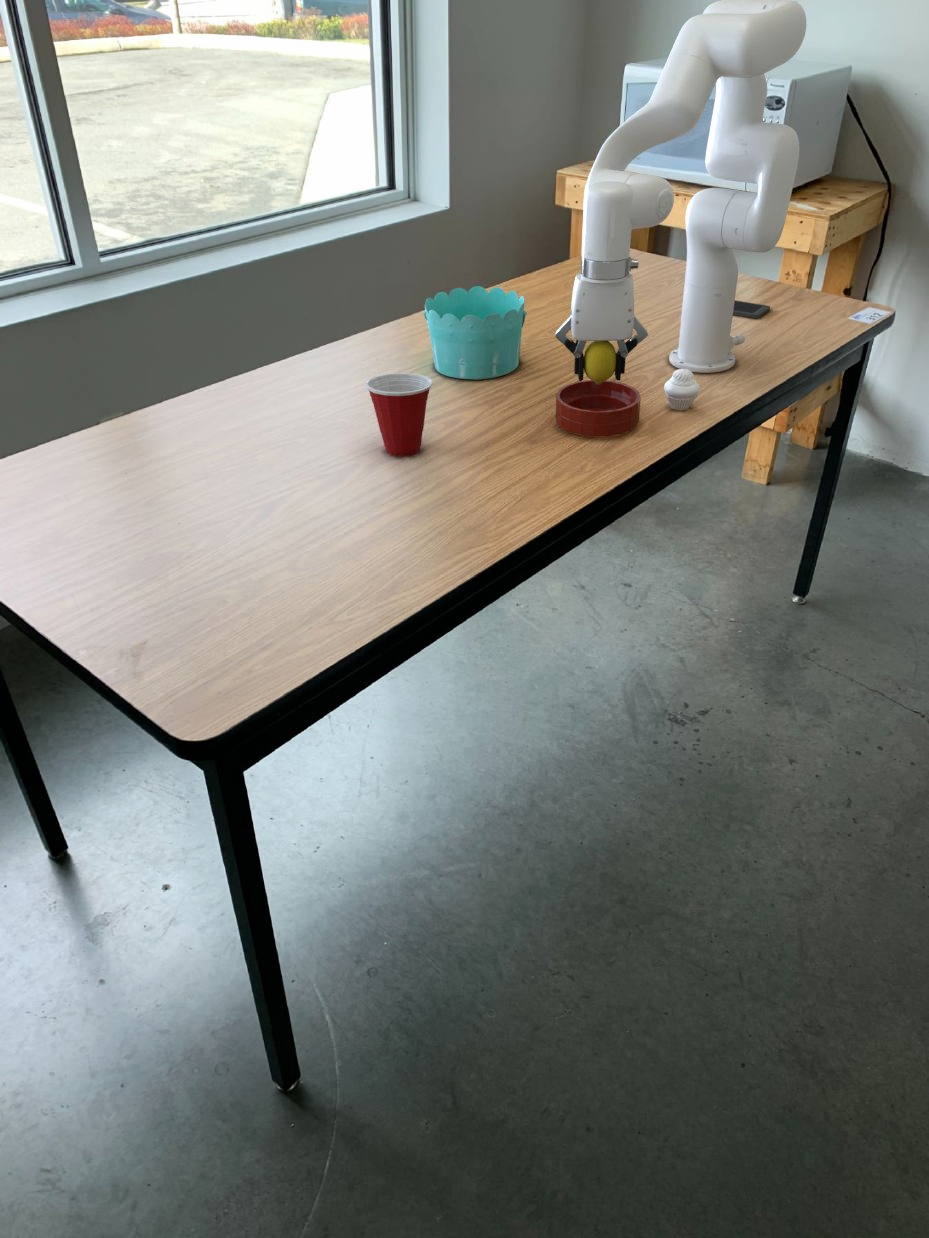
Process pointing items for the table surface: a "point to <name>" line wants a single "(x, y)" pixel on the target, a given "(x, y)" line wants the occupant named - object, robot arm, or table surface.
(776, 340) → the table surface
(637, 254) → the table surface
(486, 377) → the basket
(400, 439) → the plastic cup
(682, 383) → the muffin
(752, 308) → the cell phone
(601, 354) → the lemon
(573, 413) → the bowl
